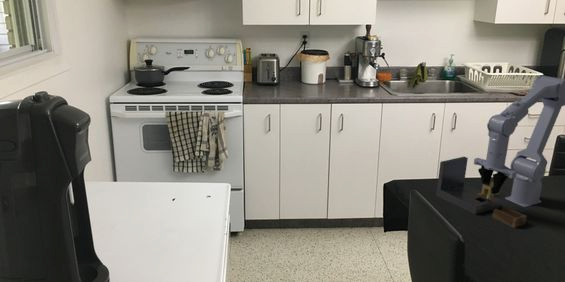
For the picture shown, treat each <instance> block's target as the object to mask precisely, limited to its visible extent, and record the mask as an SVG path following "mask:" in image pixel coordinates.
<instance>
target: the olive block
mask: <svg viewBox="0 0 565 282" xmlns="http://www.w3.org/2000/svg"><path fill="white" fill-rule="evenodd" d="M493 184H494V181H490V182H488V183H485V184H483V185H482V188H481V191H482V193H483V194H485V193H486V199H485V201H486V202H489V203H491V202H492V201H493V197H494V196H496V195H497V196H498V195H499V194H500V192H499V193H497V194H493Z"/></svg>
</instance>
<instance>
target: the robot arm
mask: <svg viewBox="0 0 565 282" xmlns="http://www.w3.org/2000/svg"><path fill="white" fill-rule="evenodd" d="M539 101H541V102H542V103H543V104H542V105H543V107H542V110H541V111H540V114H539V116H538V119H537V122H536V123H535V127H534V128H533V131H532V134H531V136H530V139H529V141H528V143H527V145H526V147H525V148H524V149H522V150H519V151H517V152H516V155H515V157H513V159H512V161H511V162H510V166H509V167H510V168H509V167H508V166H507V165H506V160H507V155H508V154H507V153H508V148H509V143H510V136H511V135H514V133H515V131H516V128H517V126H518V125H519V122H521V121H522V120H524V118H525V117H526V116H528V115H529V113H530V112H529V111H530V110H529V109H530V108H532V107H533V106H534V105H535V104H537V103H539ZM562 107H565V79H564V78H558V77H553V76H547V75H545V74H541V75H539V76H538V77H537V78H536V79H534V80H533V84H532V88H530V90H529V91H527V93H526V94H525V95H524V96H523V97H522V98H521V100H514V101H513V102H512V103H510V104H509V105H508V107H506V108H505V109H504V110H503V111H501V112H500V113H499V114H495V115H492V116H491V117H490V118H489V120H488V122H487V124H486V127H487V131H488V133H487V135H488V137H489V138H488V139H489V140H488V146H487V152H486V156H485V157H486V158H485V159H483V158H479V157H475V158H474V159H473V165H475V166H477V165H478V166H480V168H479V167H478V173H479V175H480V178H481V183H482V185H481V186H483V184H485V183H488V182H494V184H493V194H497V193H499V194H500V190H501V188H502V187H503V185H504V184H505V182H506V181H507V179H508V178H509V179H513V183H512V188H511V193H510V194H511V195H510V196H506V197H505V198H504V199H505V200H507V201H510V202H512V203H514V204H516V205H519V206H521V207H523V208H527V207H530V206H533V205H537V204H541V203H542V200H540V197H541V191H542V187H543V183H542V182H543V181H542V179H543V178H544V177H545V174H546V172H547V171H546V170H547V164H548V160H547V158H546V157H545V155H544V154H543V153H544V150H545V148H546V145H547V142H548V141H549V138H550V135H551V133H552V131H553V128H554V126H555V124H556V123H557V122H556V121H557V119H558V116H559V114H560V113H561V109H562ZM494 172H496V173H494ZM492 179H493V181H491V180H492ZM497 195H498V194H497Z"/></svg>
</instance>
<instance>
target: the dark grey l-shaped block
mask: <svg viewBox="0 0 565 282" xmlns="http://www.w3.org/2000/svg"><path fill="white" fill-rule="evenodd" d="M468 158H469V157H466V156H461V157H457V158H456V157H455V158H451V159H447V160H441V161H440V163H439V169H438V170H439V171H438V178H437V179H438V180H437V186H436V187H437V188H436V193H435V195H436V197H438V198H440V199H442V200H443V201H447V202H449V203H450V204H452V205H455V206H457V207H459V208H460V209H462V210H465V211H467V212H469V213H471V214H473V215H478V214H482V213H485V212H488V211H492V210H494V209H499V208H500V207H501V206H500V205H501V199H500V198H498V197H495V196H493V201H492V202H491V203H489V202H486V201H485V199H486V193H485V194H483V193H482V190H480V189H477V188H475V187H472V186H471V185H468V184H466V183H465V180H466V179H465V178H466V174H467V172H466V171H467V167H468Z"/></svg>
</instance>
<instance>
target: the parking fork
mask: <svg viewBox="0 0 565 282" xmlns="http://www.w3.org/2000/svg"><path fill="white" fill-rule="evenodd" d="M492 210H493V211H492V217H491V218H493V219H495V220H497V221H498V222H501V223H503V224H505V225H507V226H510V227H511V228H513V229H514V228H518V227H521V226H524V225H526V221H527V215H525V214H523V213H522V212H521V213H520V212H519V211H517V210H514V209H512V208H509V207H508V206H501V210H500V209H499V208H495V209H492Z"/></svg>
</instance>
